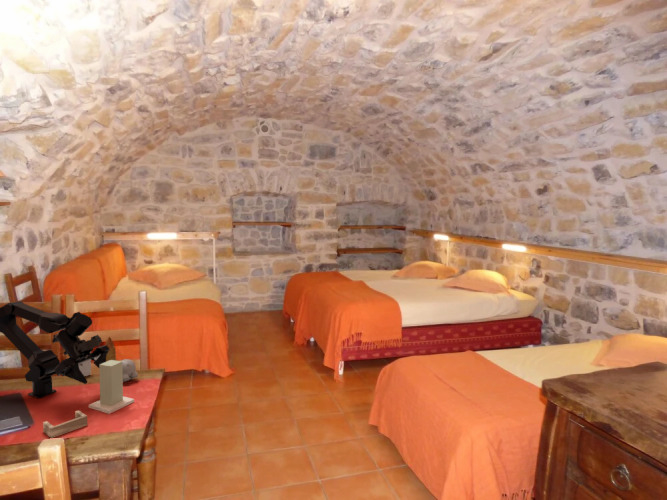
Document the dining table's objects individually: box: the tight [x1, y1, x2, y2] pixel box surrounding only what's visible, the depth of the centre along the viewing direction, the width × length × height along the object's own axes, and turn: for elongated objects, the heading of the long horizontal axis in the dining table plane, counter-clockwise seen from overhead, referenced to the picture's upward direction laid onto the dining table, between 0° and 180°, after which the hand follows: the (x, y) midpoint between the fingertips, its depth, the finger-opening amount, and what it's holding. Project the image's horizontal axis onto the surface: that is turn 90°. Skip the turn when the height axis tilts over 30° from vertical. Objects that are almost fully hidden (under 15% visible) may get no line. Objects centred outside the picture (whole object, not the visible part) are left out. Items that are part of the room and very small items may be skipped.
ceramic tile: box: [88, 395, 135, 415], centre depth 144 cm, size 10×10×1 cm
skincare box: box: [79, 351, 92, 377], centre depth 169 cm, size 6×4×12 cm
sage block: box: [98, 360, 124, 406], centre depth 144 cm, size 5×5×14 cm
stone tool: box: [104, 336, 117, 362], centre depth 174 cm, size 5×2×15 cm, turn 126°
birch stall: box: [42, 410, 88, 439], centre depth 128 cm, size 6×10×3 cm, turn 145°
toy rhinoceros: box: [121, 358, 139, 383], centre depth 166 cm, size 7×12×8 cm, turn 54°
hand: (97, 378), depth 145 cm, fingers open, 9 cm apart
